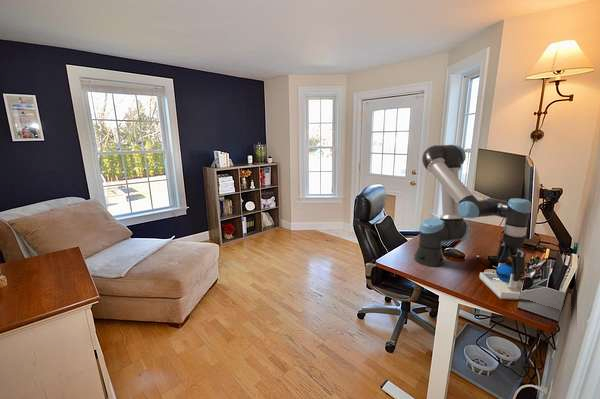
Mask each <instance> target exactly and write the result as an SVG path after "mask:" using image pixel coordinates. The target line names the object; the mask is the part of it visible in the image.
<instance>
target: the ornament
mask: <svg viewBox="0 0 600 399" xmlns="http://www.w3.org/2000/svg"><path fill="white" fill-rule="evenodd" d="M506 262H507V263H505V264H503V265H500V266H499V267H498V266H497V267H496V269H495V273H496V274H497V277H498V278H499V279H500V280H501V281H503V282H505V283H510V277H511V273H513V269H512V261H506ZM520 278H521V275H519V279H520Z"/></svg>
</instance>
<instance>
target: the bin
mask: <svg viewBox="0 0 600 399" xmlns="http://www.w3.org/2000/svg"><path fill="white" fill-rule="evenodd" d="M478 278H479V280H480V281H482V283H484V285H486V286H487V287H488V288H489V289H490V290H491V291H492V292H493V293H494V294H495V295H496V296H497V297H498V298H499V299H500V300H513V301H514V300H515V301H516V300H517V301H519V300H518V299H519V296H520V291H521V288H522V285H523V284H524V283H523V282H521V280H520V279H519V280H518V284H517V288H516V287H509V283H505V282H503V281H501V280H496V279H493V278H498V277H497V274H496V272H479V277H478Z"/></svg>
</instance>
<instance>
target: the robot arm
mask: <svg viewBox="0 0 600 399" xmlns="http://www.w3.org/2000/svg"><path fill="white" fill-rule="evenodd" d="M466 155H467V154H466V151H465V149H463V147H462V146H460V145H457V144H455V145H454V144H444V145H443V144H441V145H440V144H439V145H438V144H437V145H432V146H430V147H427V148H426V149H425V150H424V152H423V153H422V158H421V160H422V164H423V166H424V168H425V169H426V171H427V172H429V173H432V174H433V176H434V178H436V179H437V181H438V182H439V183H440V186H441V188H440V189H441V204H442V205H441V207H442V215H441V216H440V217H439V218H427V219H426V218H425V219H423V220H422V221H421V222H420V224H419V234H418V235H419V237H418V245H417V248H416V249H415V252H414V256H413V259H414V261H415V262H417V263H419V264H421V265H425V266H428V267H440V266H443V265H444V262H445V258H444V254H443V251H442V249H443V248H442V246H443V243H448V242H449V243H450V242H458V241H463V240H465V239H466V238H467V237H468V236H469V232H470V226H469V224H468V222H467V221H466V220H465V219H475V218H481V217H482V218H483V217H484V218H485V217H498V218H502V219H505V221H504V222H505V223H504V227H503V232H504V233H502V234H503V235H502V240H500V241H499V246H498V249H497V253H496V256H495V260H496V261H497V262H498V265H497V268H498V267H499V266H500V265H503V264H507V262H508V261H507V260H508V258H510V259H511V261H510V262H511V263H512V269H513V273H511V277H510V283H509V287H516V288H517V284H518V280H519V281H520V278H519V275H520V276H524V275H525V263H526V262H525V258H526V256H527V253H526V252H524V251H522V248H521V246H523V245H525V242H526V235H527V230H528V223H529V219H530V215H531V211H532V210H531V207H532V202H531V201H530V200H528V199H526V198H518V197H517V198H516V197H515V198H510V199H508V201H507V200H503V199H499V198H494V197H484V198H483V199H481V200H478V199H477V197H476V196H475V195H474V194H473V193H472V192H471V191H470V190H469V189H468V187H466V186H465V184H464V183H463V182H462V181H461V180H460V179H459V171H460V170H461V169H462V165H463V164H464V163H465V161H466V157H467V156H466Z"/></svg>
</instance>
